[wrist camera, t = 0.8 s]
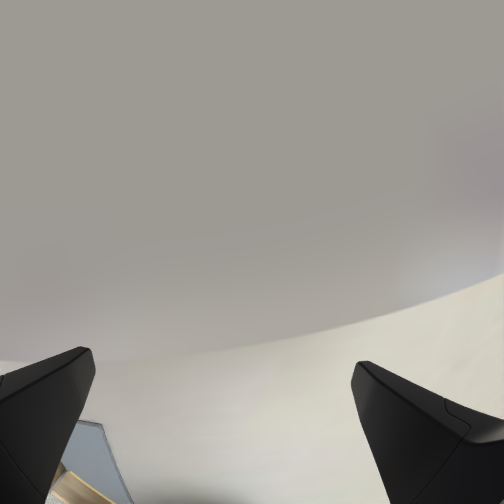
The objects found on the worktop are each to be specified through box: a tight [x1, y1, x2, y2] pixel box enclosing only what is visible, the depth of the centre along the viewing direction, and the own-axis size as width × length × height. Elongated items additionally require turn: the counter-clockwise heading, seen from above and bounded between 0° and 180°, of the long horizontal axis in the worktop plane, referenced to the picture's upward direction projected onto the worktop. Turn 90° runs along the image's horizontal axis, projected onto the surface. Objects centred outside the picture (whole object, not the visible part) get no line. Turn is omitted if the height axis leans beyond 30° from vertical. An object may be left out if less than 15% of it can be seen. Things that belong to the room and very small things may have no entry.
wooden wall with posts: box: [49, 461, 112, 504], centre depth 17 cm, size 11×2×5 cm, turn 48°
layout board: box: [49, 421, 134, 504], centre depth 19 cm, size 14×20×1 cm
